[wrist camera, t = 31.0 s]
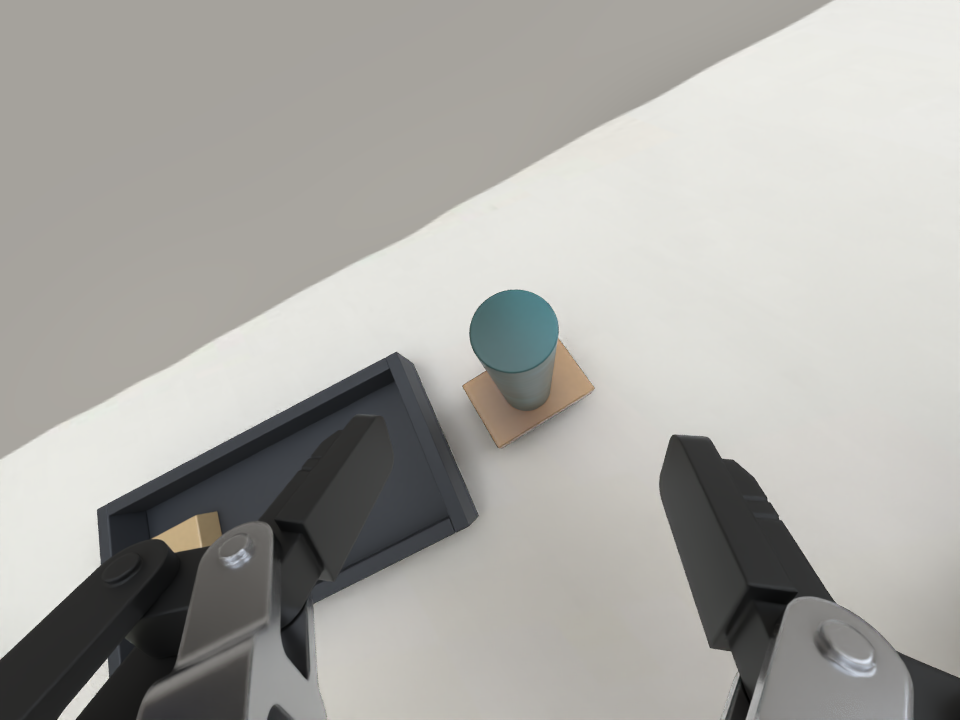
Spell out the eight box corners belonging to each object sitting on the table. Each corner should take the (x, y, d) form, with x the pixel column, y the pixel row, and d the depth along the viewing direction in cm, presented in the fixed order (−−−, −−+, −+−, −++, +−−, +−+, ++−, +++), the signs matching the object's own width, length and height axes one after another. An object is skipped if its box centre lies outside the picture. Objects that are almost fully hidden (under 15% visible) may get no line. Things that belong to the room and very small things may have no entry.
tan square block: (218, 510, 22) (195, 514, 21) (230, 573, 21) (208, 582, 19) (166, 538, 22) (140, 544, 21) (175, 602, 21) (149, 613, 20)
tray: (413, 362, 23) (396, 351, 20) (479, 516, 20) (469, 525, 17) (145, 503, 24) (96, 509, 21) (166, 673, 21) (110, 705, 18)
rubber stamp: (550, 345, 22) (561, 227, 10) (587, 397, 20) (646, 328, 9) (472, 394, 22) (396, 330, 10) (504, 449, 21) (458, 445, 9)
